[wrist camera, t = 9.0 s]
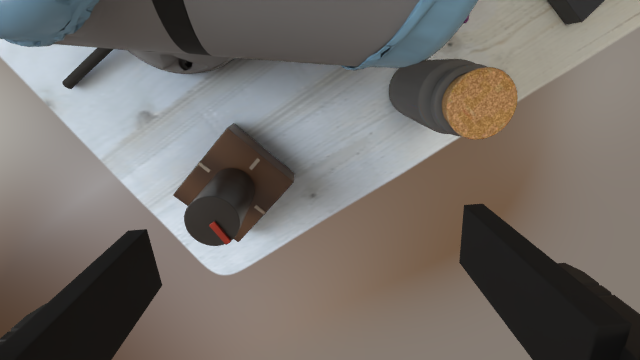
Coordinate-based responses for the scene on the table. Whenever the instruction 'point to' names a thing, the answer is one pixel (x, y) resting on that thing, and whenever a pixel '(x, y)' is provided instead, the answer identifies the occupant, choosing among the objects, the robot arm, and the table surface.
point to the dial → (220, 208)
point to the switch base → (574, 9)
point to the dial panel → (247, 157)
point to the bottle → (455, 97)
